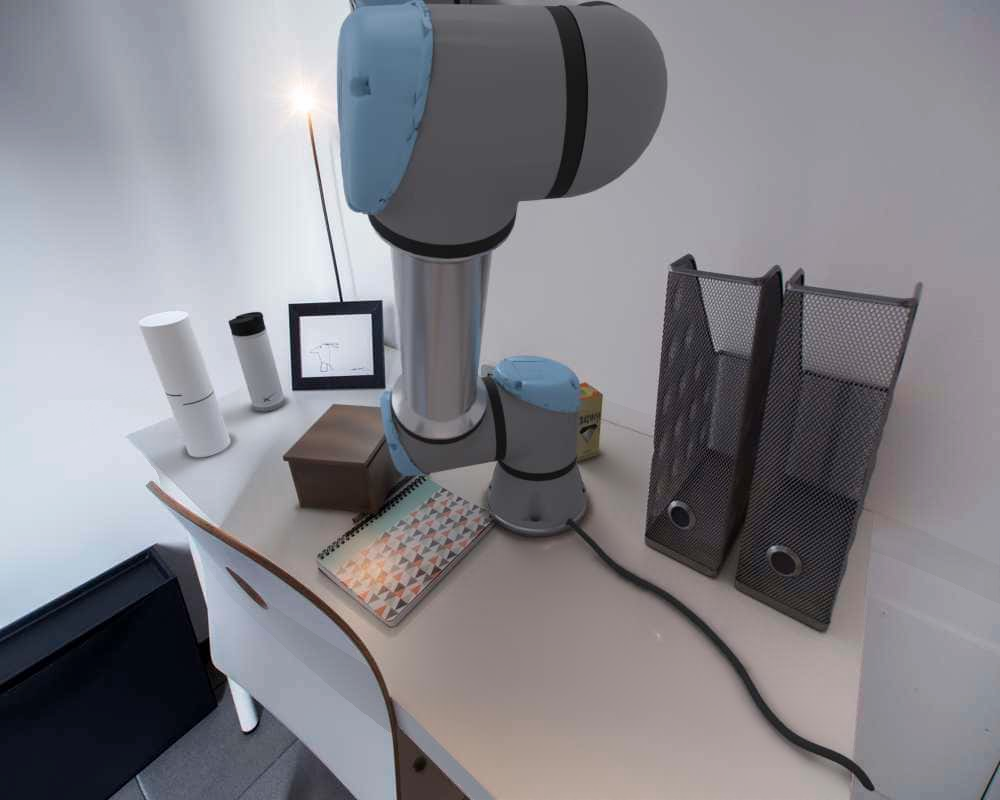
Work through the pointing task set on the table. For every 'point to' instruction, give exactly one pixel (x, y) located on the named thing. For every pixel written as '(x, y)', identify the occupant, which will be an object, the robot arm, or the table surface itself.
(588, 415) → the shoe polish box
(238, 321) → the travel mug
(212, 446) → the cylindrical container
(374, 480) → the keepsake box
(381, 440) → the lid
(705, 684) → the table surface
